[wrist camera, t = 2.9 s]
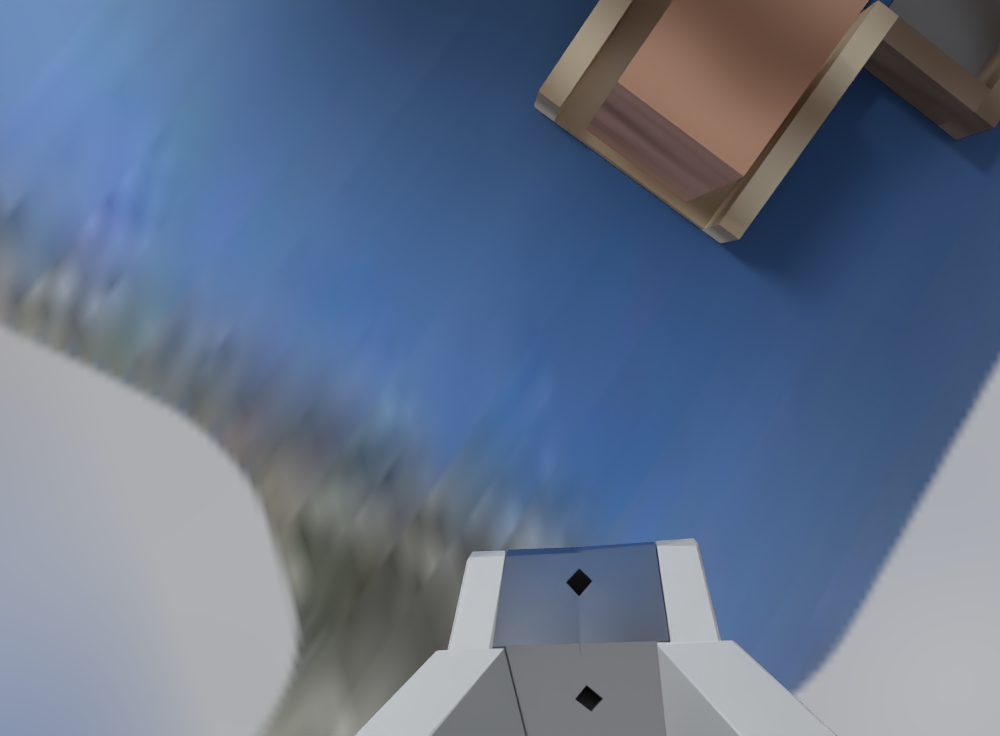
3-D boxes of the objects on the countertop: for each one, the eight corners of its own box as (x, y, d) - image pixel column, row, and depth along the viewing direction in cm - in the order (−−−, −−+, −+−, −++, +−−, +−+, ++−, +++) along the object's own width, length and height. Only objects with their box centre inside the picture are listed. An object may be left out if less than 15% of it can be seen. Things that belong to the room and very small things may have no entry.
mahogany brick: (685, 202, 32) (743, 176, 25) (586, 129, 31) (617, 81, 24) (796, 44, 31) (888, -28, 24) (696, -34, 30) (761, -130, 23)
